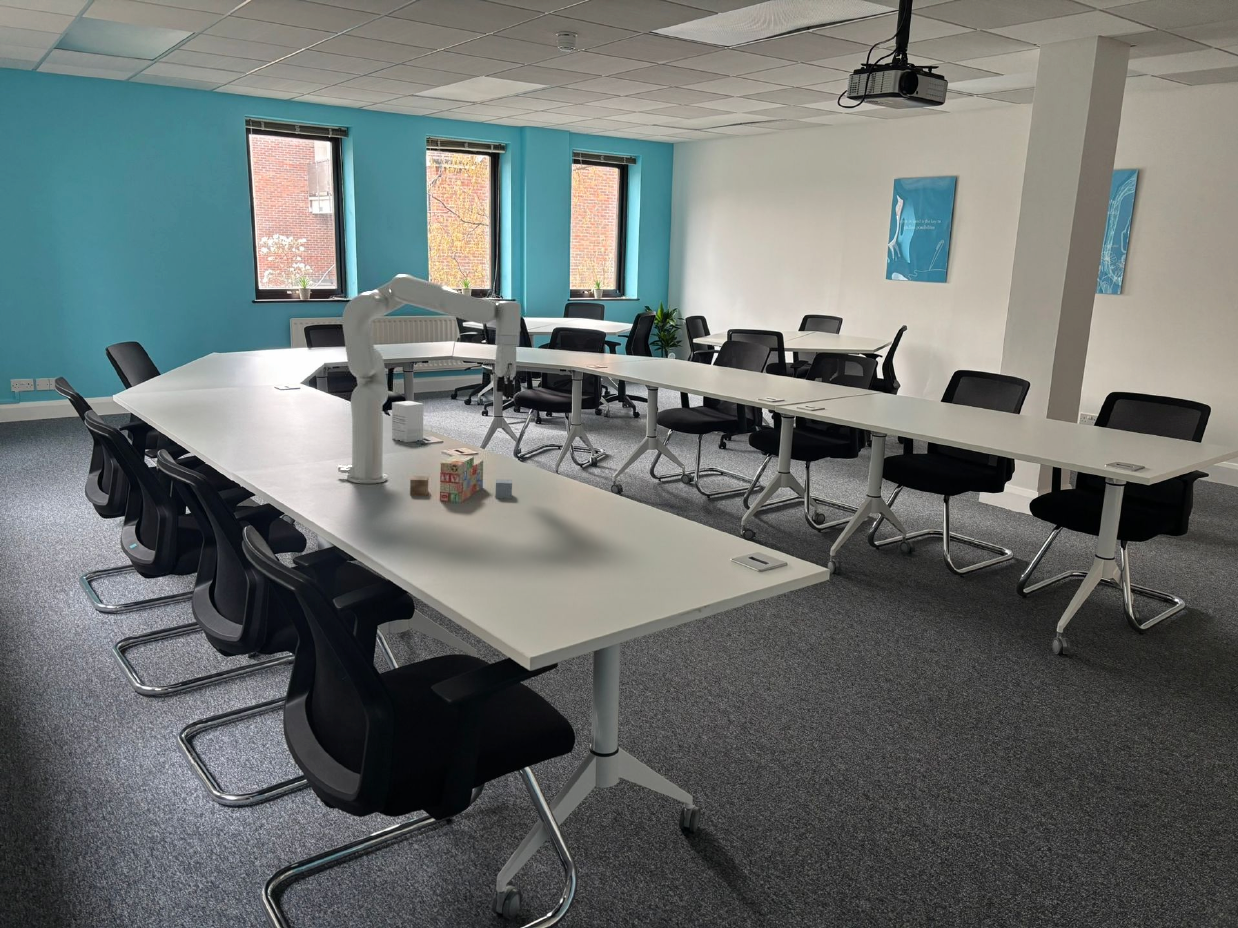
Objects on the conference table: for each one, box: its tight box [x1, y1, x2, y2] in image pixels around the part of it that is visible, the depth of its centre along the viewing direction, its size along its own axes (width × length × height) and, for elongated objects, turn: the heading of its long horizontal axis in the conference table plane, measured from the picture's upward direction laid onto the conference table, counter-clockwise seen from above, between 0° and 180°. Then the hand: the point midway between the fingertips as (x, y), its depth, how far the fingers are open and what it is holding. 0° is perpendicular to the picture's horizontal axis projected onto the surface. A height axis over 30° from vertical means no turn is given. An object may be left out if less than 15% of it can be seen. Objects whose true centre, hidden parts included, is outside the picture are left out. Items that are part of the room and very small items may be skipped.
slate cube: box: [494, 478, 513, 500], centre depth 277 cm, size 5×5×5 cm
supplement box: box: [391, 400, 424, 443], centre depth 352 cm, size 9×9×15 cm
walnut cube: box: [409, 475, 429, 497], centre depth 274 cm, size 5×5×5 cm
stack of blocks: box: [439, 454, 484, 504], centre depth 276 cm, size 21×6×12 cm, turn 169°
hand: (504, 394), depth 284 cm, fingers open, 9 cm apart
